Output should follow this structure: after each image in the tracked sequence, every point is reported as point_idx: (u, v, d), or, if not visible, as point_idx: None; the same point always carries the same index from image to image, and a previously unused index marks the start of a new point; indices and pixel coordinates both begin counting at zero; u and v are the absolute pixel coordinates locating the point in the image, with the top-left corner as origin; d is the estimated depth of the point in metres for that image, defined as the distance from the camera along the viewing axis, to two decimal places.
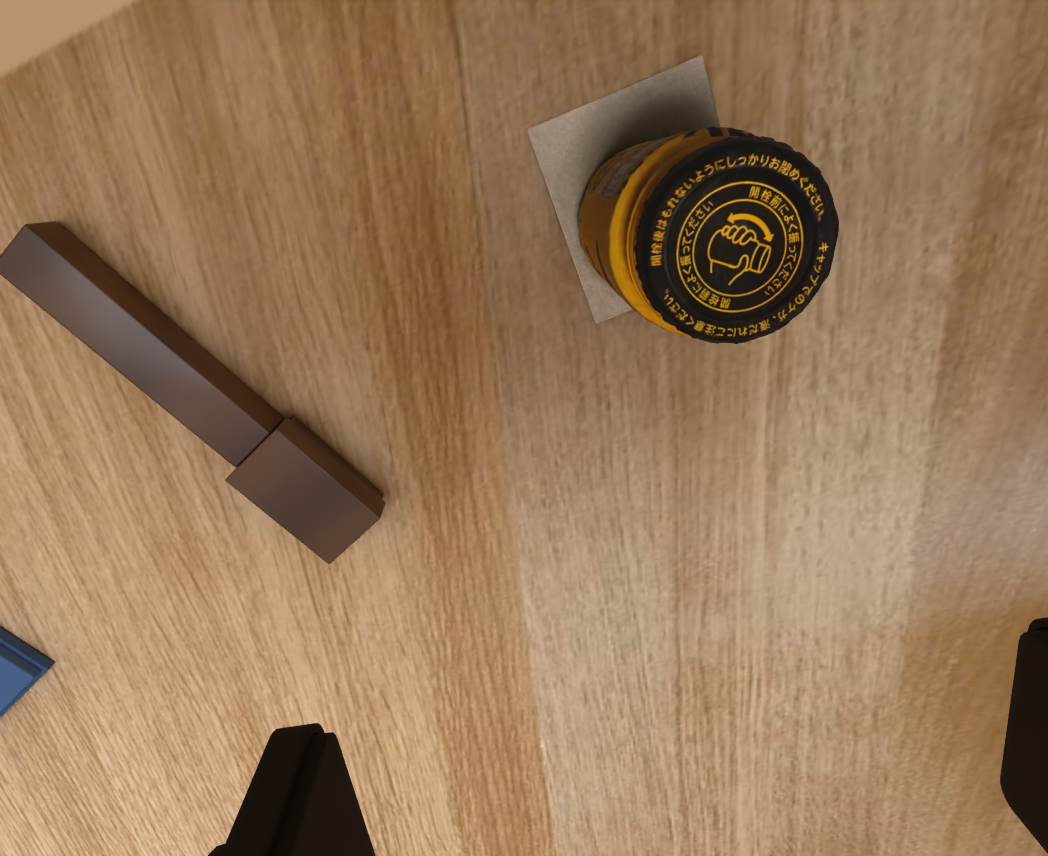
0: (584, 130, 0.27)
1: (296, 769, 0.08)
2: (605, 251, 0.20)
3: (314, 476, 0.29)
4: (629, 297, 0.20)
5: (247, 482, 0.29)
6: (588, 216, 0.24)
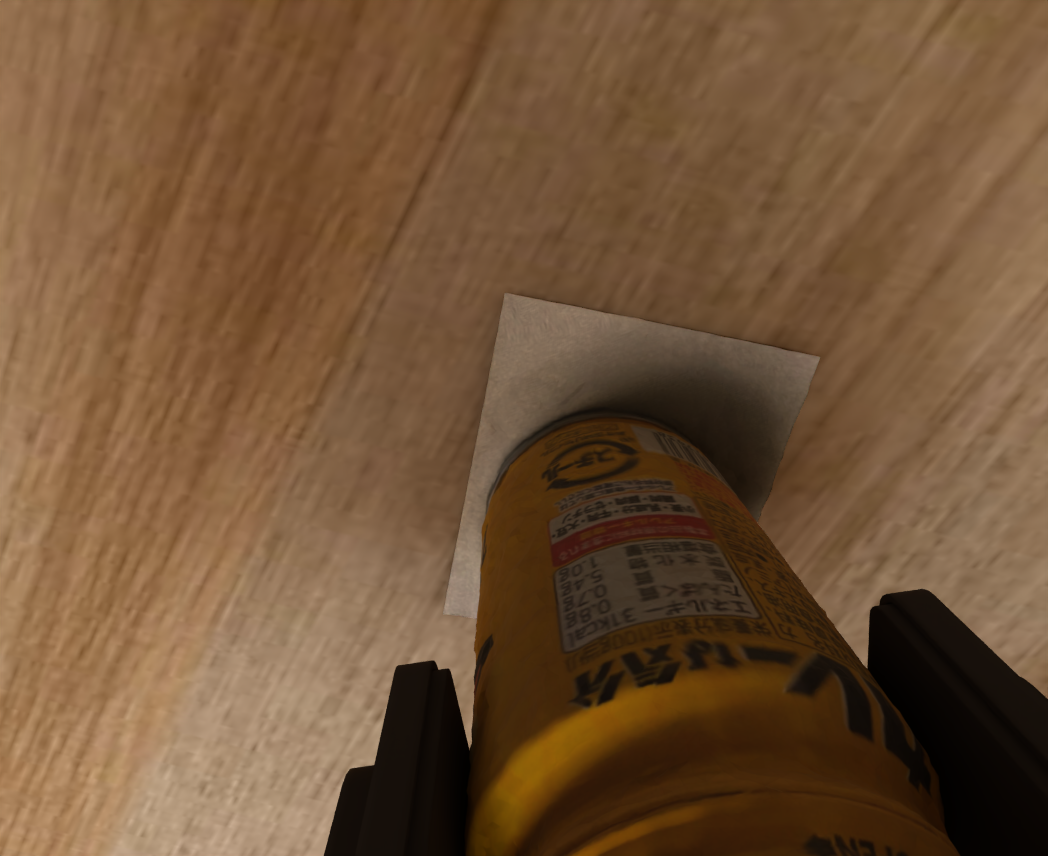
0: (591, 349, 0.15)
1: (425, 697, 0.09)
2: (484, 754, 0.08)
3: None
4: None
5: None
6: (510, 544, 0.12)
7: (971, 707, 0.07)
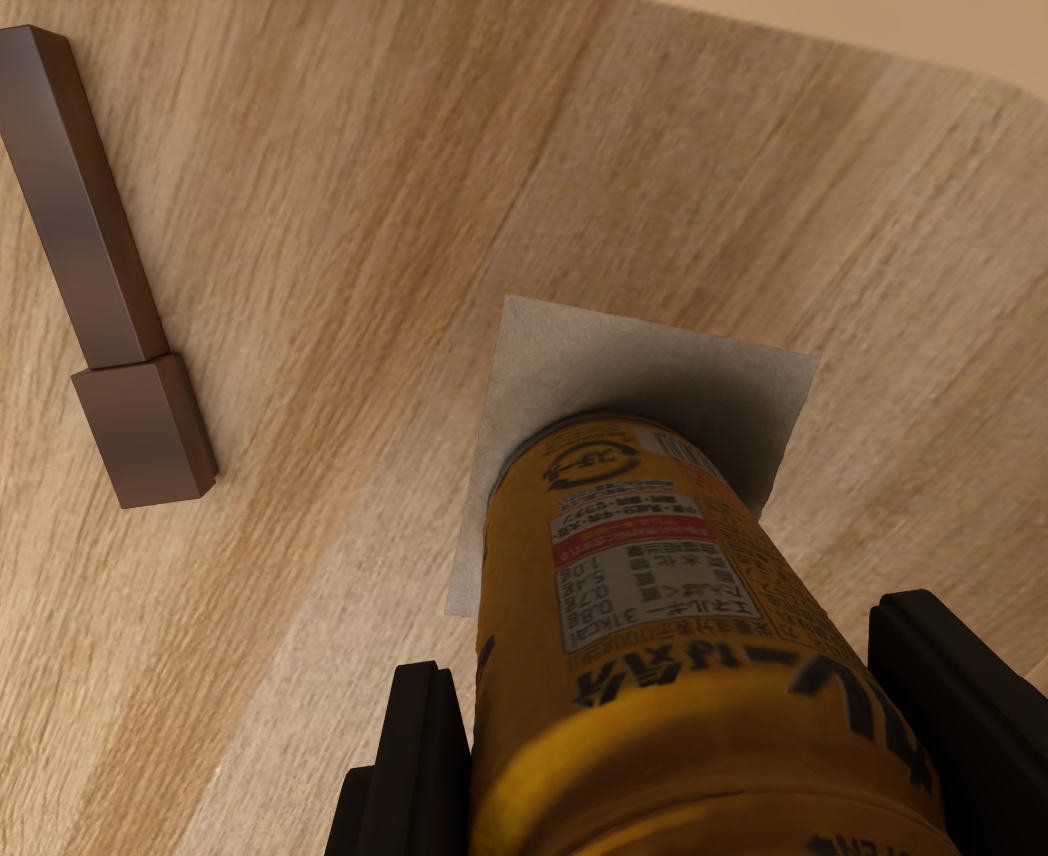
0: (591, 350, 0.15)
1: (425, 697, 0.09)
2: (486, 754, 0.08)
3: (162, 425, 0.27)
4: None
5: (91, 391, 0.27)
6: (512, 544, 0.12)
7: (971, 707, 0.07)
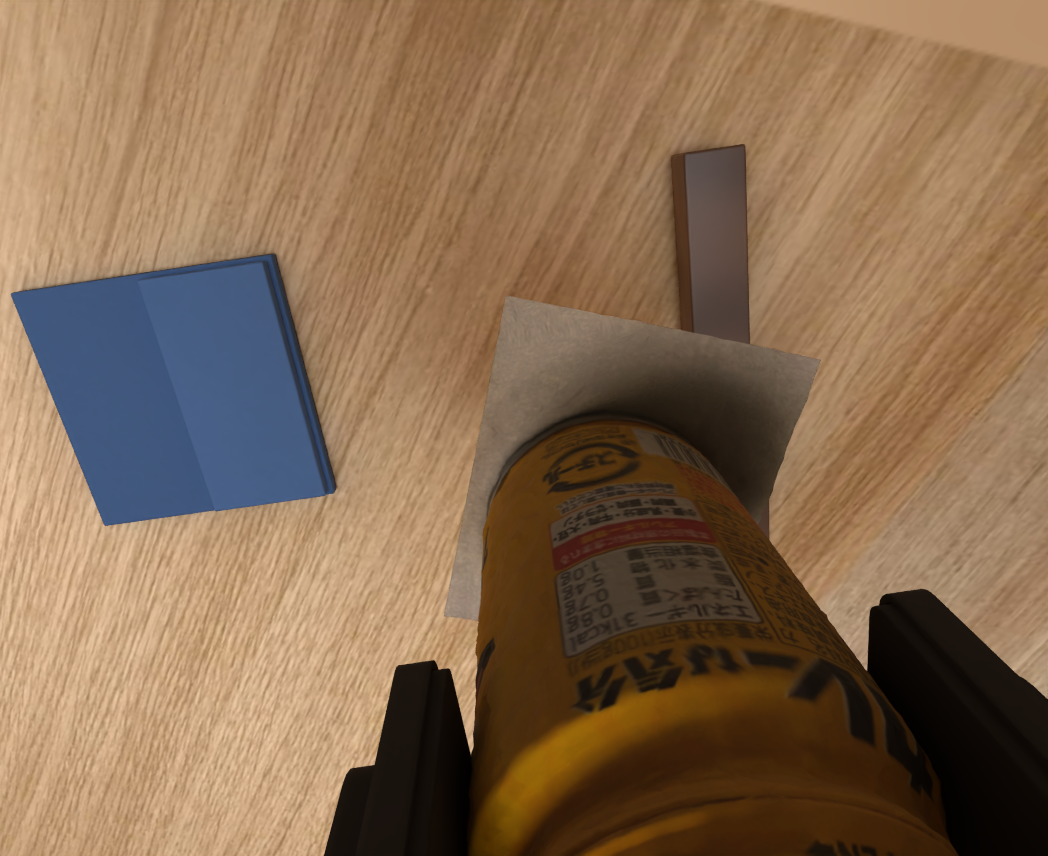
0: (591, 352, 0.15)
1: (425, 697, 0.09)
2: (486, 758, 0.08)
3: None
4: None
5: None
6: (512, 547, 0.12)
7: (971, 707, 0.07)
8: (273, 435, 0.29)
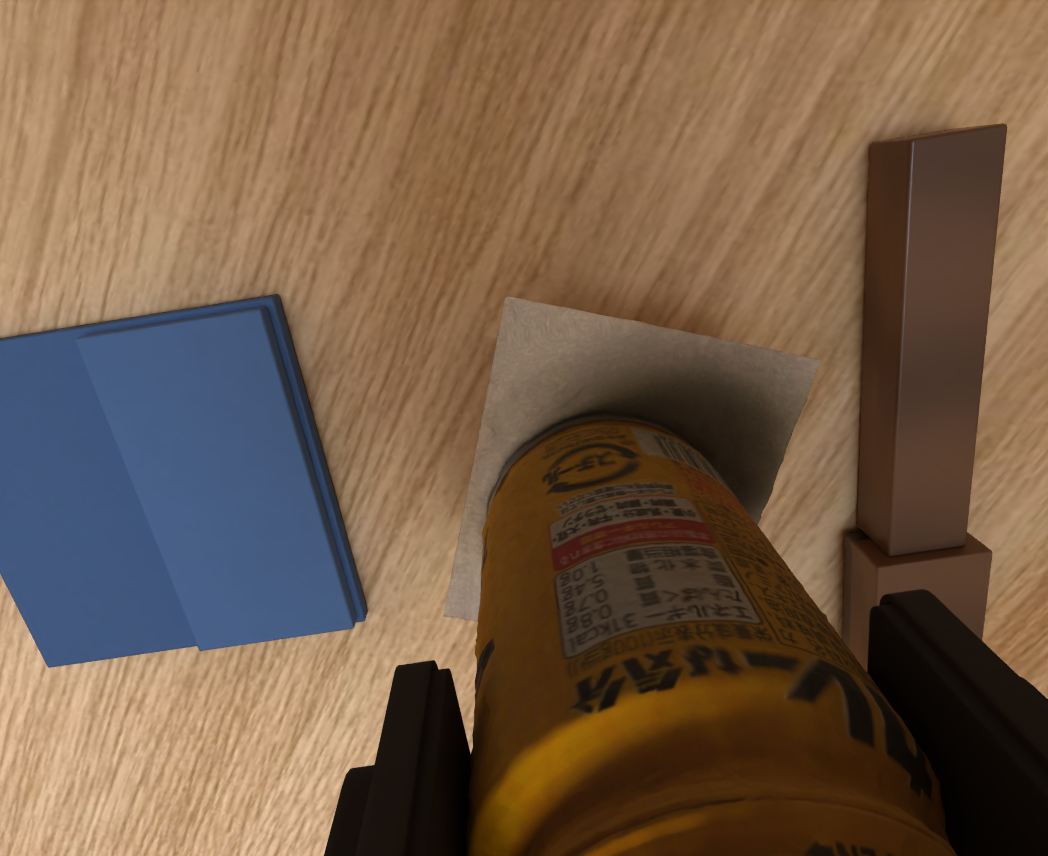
0: (591, 352, 0.15)
1: (425, 697, 0.09)
2: (485, 759, 0.08)
3: (968, 623, 0.21)
4: None
5: (897, 585, 0.20)
6: (511, 547, 0.12)
7: (971, 707, 0.07)
8: (280, 551, 0.21)
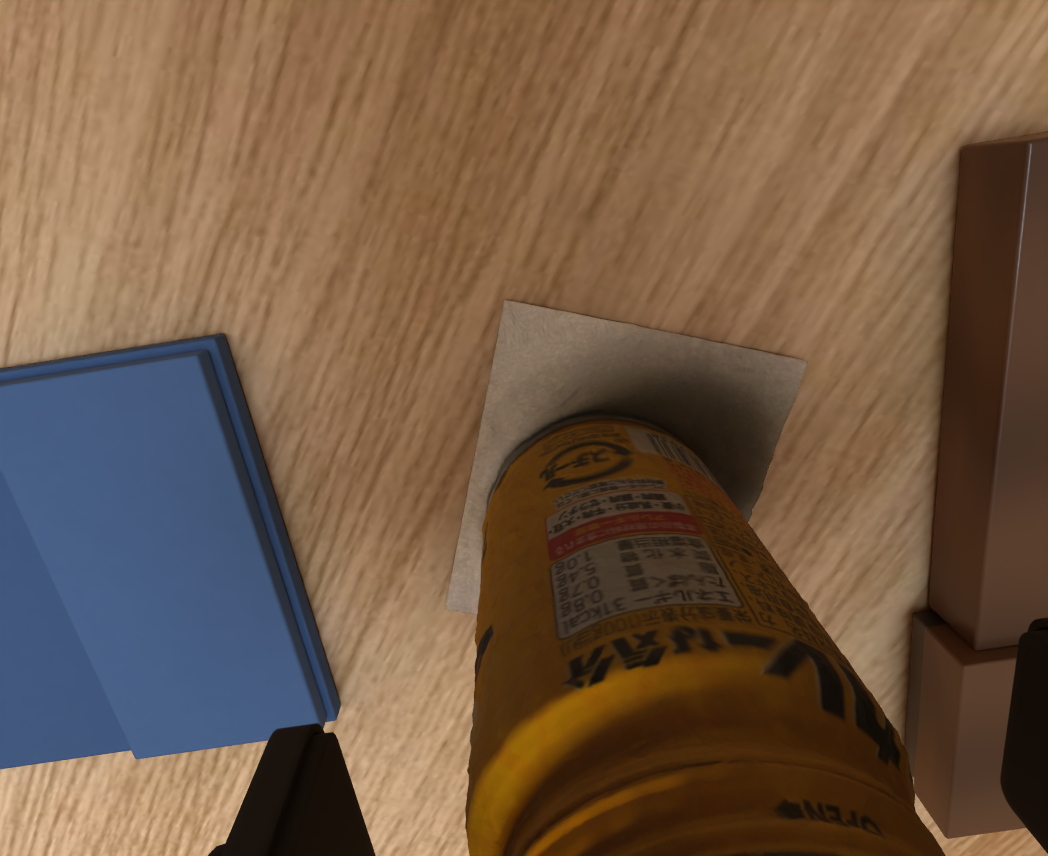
0: (587, 354, 0.16)
1: (296, 769, 0.08)
2: (484, 734, 0.09)
3: None
4: None
5: (986, 687, 0.17)
6: (509, 540, 0.12)
7: None
8: (230, 643, 0.17)
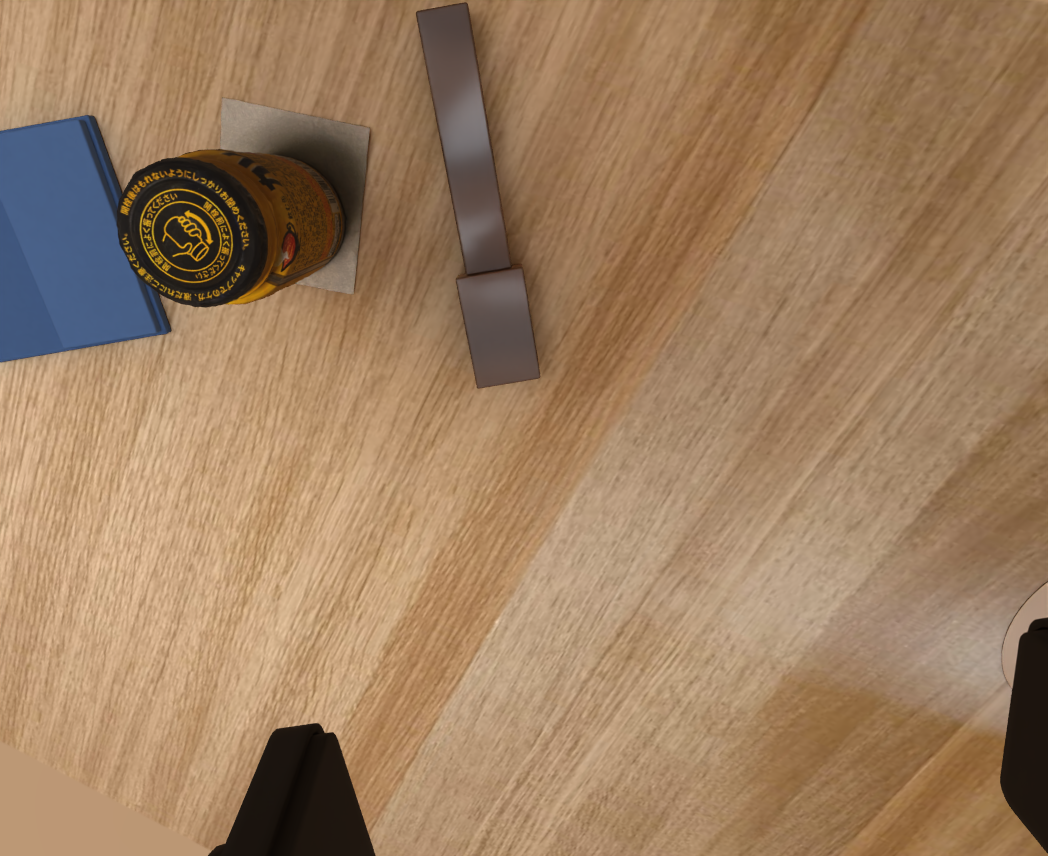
0: (265, 125, 0.33)
1: (296, 769, 0.08)
2: None
3: (520, 318, 0.35)
4: None
5: (470, 291, 0.34)
6: None
7: None
8: (105, 277, 0.34)
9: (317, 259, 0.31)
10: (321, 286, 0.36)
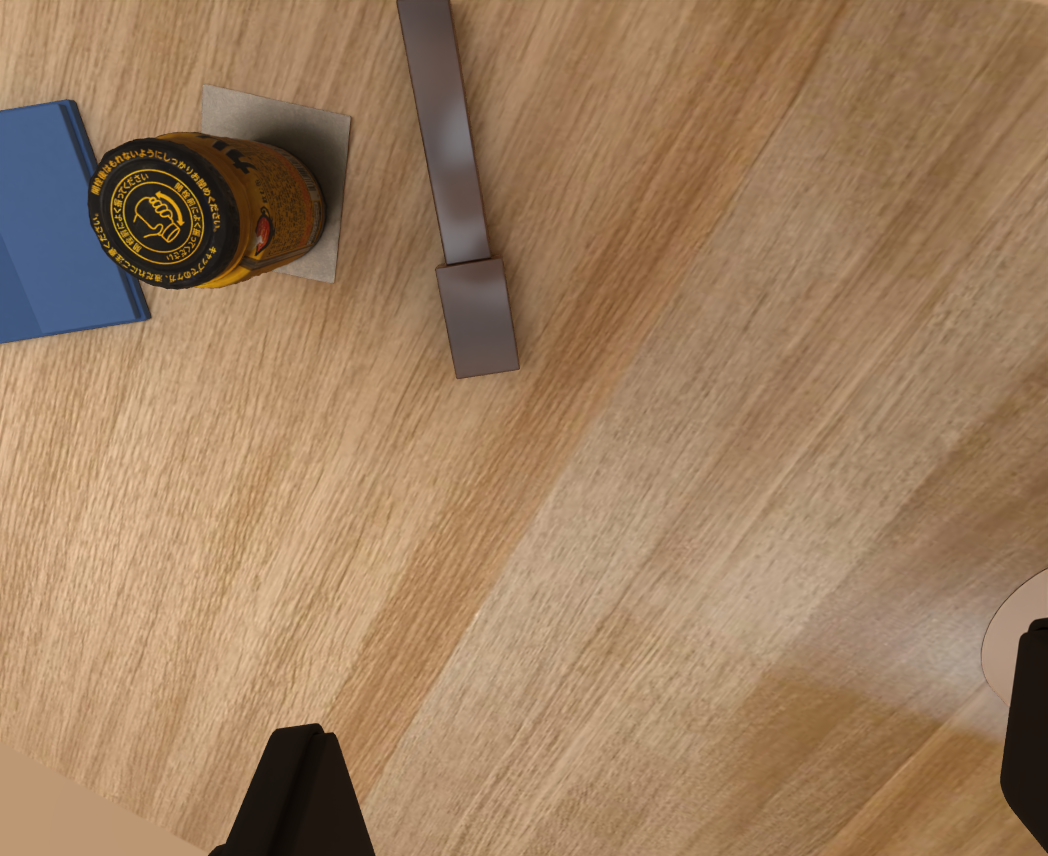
0: (246, 112, 0.33)
1: (296, 769, 0.08)
2: None
3: (500, 309, 0.35)
4: None
5: (450, 281, 0.34)
6: None
7: None
8: (84, 262, 0.34)
9: (295, 246, 0.31)
10: (301, 274, 0.36)
